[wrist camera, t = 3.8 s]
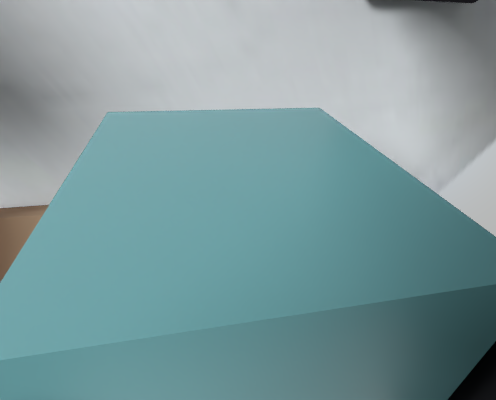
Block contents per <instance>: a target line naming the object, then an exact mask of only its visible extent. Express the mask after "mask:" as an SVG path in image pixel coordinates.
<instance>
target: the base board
mask: <svg viewBox="0 0 496 400" xmlns="http://www.w3.org/2000/svg"><path fill="white" fill-rule="evenodd" d="M48 206H49V205H42V206H28V207H14V208H0V280H2V279H3V278H4V276H5V274H6V273H7V271H8V270H9V268H10V266H11V265H12V263H13V262H14V260H15V259H16V257H17V255H18V254H19V252H20V251H21V249H22V247H23V246H24V244H25V243H26V241H27V240H28V238H29V236H30V235H31V233H32V232H33V230H34V228H35V227H36V225H37V224H38V222H39V220H40V219H41V217H42V216H43V214H44V213H45V211H46V209H47V208H48Z"/></svg>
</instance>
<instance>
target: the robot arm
mask: <svg viewBox="0 0 496 400" xmlns="http://www.w3.org/2000/svg"><path fill="white" fill-rule="evenodd" d="M417 1H436V2H456V3H474V2H476V1H478V0H417ZM448 400H496V341H495V342H494V344H493V345H492V346H491V347H490V348H489V350H488V351H487V352H486V353H485V355H484V356H483V357H482V358H481V359H480V361H479V362H478V363H477V364H476V366H475V367H474V368H473V369H472V370H471V372H470V373H469V374H468V375H467V376H466V378H465V379H464V380H463V381H462V383H461V384H460V385H459V386H458V387H457V389H456V390H455V391H454V392H453V393H452V395H451V396H450V397H449V398H448Z"/></svg>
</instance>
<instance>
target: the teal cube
mask: <svg viewBox="0 0 496 400" xmlns="http://www.w3.org/2000/svg"><path fill="white" fill-rule="evenodd" d="M495 341H496V237H495V236H494V235H492V234H491V233H490V232H488V231H487V230H486V229H484V228H483V227H482V226H480V225H479V224H478V223H476V222H475V221H473V220H472V219H471V218H469V217H468V216H467V215H465V214H464V213H463V212H461V211H460V210H458V209H457V208H456V207H454V206H453V205H451V204H450V203H449V202H447V201H446V200H445V199H443V198H442V197H441V196H439V195H438V194H437V193H435V192H434V191H432V190H431V189H430V188H428V187H427V186H426V185H424V184H423V183H421V182H420V181H419V180H417V179H416V178H415V177H413V176H412V175H411V174H409V173H408V172H406V171H405V170H404V169H402V168H401V167H400V166H398V165H397V164H396V163H394V162H393V161H391V160H390V159H389V158H387V157H386V156H385V155H383V154H382V153H380V152H379V151H378V150H376V149H375V148H374V147H372V146H371V145H370V144H368V143H367V142H365V141H364V140H363V139H361V138H360V137H359V136H357V135H356V134H354V133H353V132H352V131H350V130H349V129H348V128H346V127H345V126H344V125H342V124H341V123H339V122H338V121H337V120H335V119H334V118H333V117H331V116H330V115H329V114H327V113H326V112H324V111H323V110H322V109H320V108H285V109H237V110H189V111H141V112H108V113H107V114H106V116H105V117H104V119H103V121H102V122H101V124H100V125H99V127H98V128H97V130H96V132H95V133H94V135H93V136H92V138H91V140H90V141H89V143H88V144H87V146H86V147H85V149H84V151H83V152H82V154H81V155H80V157H79V159H78V160H77V162H76V163H75V165H74V167H73V168H72V170H71V171H70V173H69V174H68V176H67V178H66V179H65V181H64V182H63V184H62V186H61V187H60V189H59V190H58V192H57V194H56V195H55V197H54V198H53V200H52V201H51V203H50V205H49V206H48V208H47V209H46V211H45V213H44V214H43V216H42V217H41V219H40V220H39V222H38V224H37V225H36V227H35V228H34V230H33V232H32V233H31V235H30V236H29V238H28V240H27V241H26V243H25V244H24V246H23V247H22V249H21V251H20V252H19V254H18V255H17V257H16V259H15V260H14V262H13V263H12V265H11V266H10V268H9V270H8V271H7V273H6V274H5V276H4V278H3V279H2V281H1V282H0V400H448V398H449V397H450V396H451V395H452V393H453V392H454V391H455V390H456V389H457V387H458V386H459V385H460V384H461V383H462V381H463V380H464V379H465V378H466V376H467V375H468V374H469V373H470V372H471V370H472V369H473V368H474V367H475V366H476V364H477V363H478V362H479V361H480V359H481V358H482V357H483V356H484V355H485V353H486V352H487V351H488V350H489V348H490V347H491V346H492V345H493V344H494V342H495Z"/></svg>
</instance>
